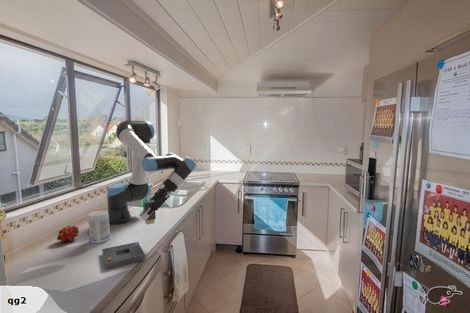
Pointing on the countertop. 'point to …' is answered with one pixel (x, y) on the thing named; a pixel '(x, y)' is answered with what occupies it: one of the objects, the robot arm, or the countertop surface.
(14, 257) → the countertop surface
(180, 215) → the countertop surface
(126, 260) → the socket plate
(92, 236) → the supplement tub
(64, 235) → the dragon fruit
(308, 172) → the countertop surface
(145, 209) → the plug
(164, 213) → the countertop surface
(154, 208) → the robot arm
